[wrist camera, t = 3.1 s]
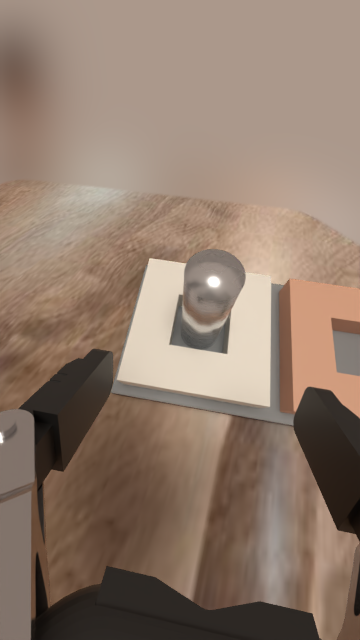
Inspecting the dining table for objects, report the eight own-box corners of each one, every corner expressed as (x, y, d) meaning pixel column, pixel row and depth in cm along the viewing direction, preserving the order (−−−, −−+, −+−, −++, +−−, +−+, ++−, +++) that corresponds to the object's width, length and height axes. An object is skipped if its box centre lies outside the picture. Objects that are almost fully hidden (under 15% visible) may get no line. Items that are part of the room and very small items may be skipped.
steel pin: (178, 346, 22) (179, 295, 13) (184, 313, 23) (189, 245, 14) (215, 352, 22) (243, 305, 12) (219, 318, 23) (247, 253, 14)
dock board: (113, 393, 21) (102, 389, 18) (147, 270, 26) (143, 250, 23) (428, 450, 19) (478, 457, 16) (395, 307, 25) (427, 290, 22)
